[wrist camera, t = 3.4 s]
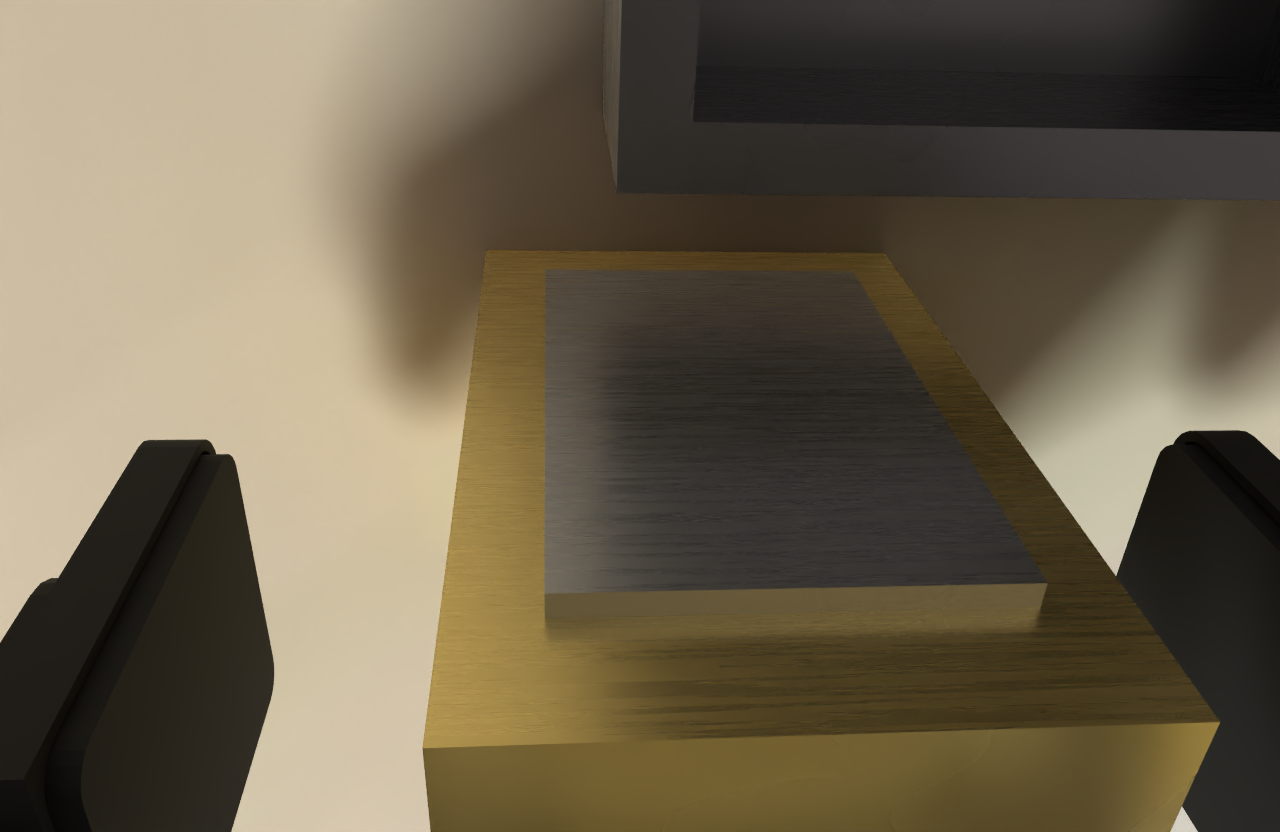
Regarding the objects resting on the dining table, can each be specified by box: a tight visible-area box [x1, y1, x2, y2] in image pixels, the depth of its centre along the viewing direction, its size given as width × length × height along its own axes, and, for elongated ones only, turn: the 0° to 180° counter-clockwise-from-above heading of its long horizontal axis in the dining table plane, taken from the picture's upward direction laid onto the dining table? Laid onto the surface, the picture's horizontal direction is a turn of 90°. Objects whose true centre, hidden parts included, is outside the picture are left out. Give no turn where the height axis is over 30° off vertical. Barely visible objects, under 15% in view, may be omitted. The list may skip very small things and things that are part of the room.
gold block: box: [423, 250, 1220, 832], centre depth 10 cm, size 5×4×7 cm
